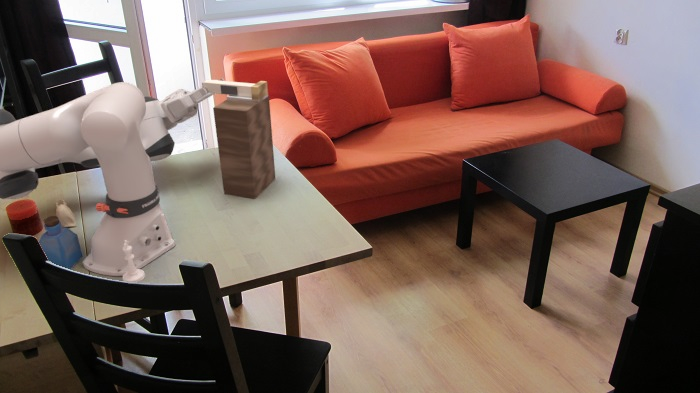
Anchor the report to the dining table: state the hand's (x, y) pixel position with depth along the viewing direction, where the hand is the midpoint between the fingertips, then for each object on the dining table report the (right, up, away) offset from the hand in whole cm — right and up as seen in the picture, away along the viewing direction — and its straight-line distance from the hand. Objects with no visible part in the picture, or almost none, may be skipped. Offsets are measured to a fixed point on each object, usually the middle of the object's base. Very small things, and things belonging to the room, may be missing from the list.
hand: (215, 85), depth 163 cm
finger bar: (+5, -2, -1) cm, 5 cm away
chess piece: (-11, -51, -33) cm, 61 cm away
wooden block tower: (+9, -29, +8) cm, 31 cm away
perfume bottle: (-30, -48, -27) cm, 63 cm away
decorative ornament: (-37, -39, -10) cm, 55 cm away
